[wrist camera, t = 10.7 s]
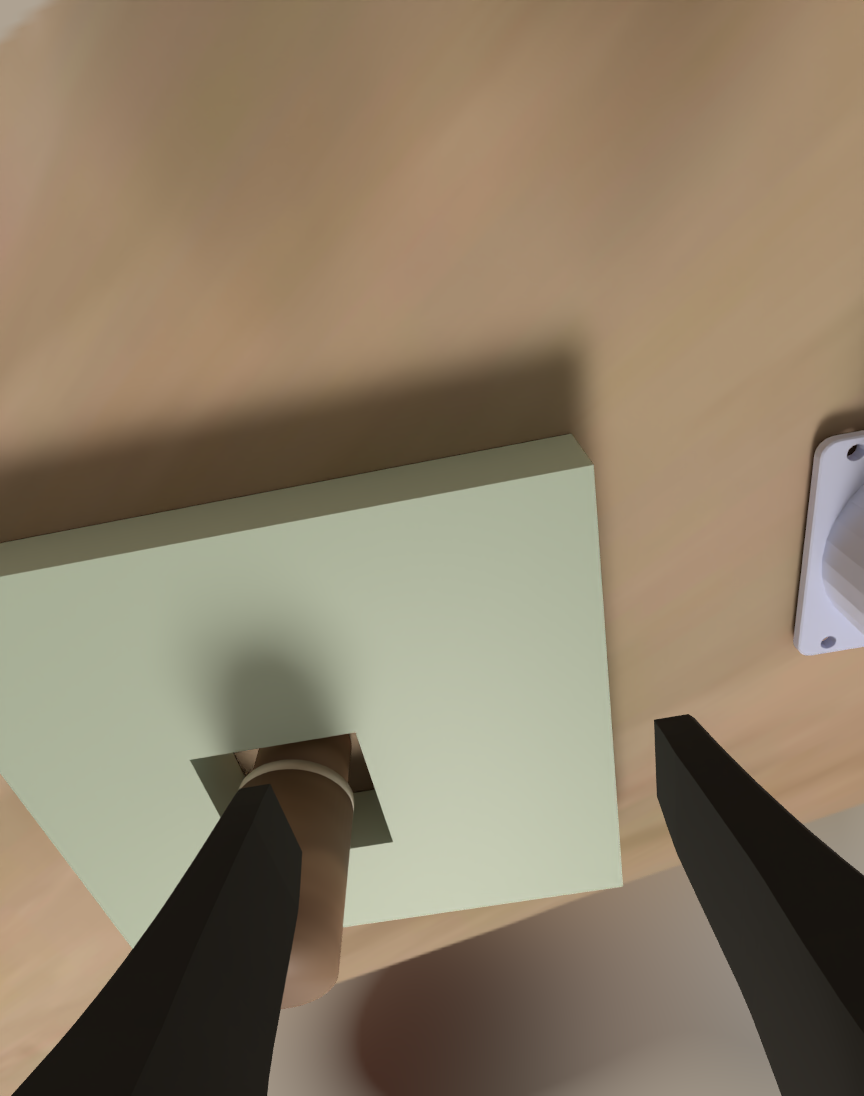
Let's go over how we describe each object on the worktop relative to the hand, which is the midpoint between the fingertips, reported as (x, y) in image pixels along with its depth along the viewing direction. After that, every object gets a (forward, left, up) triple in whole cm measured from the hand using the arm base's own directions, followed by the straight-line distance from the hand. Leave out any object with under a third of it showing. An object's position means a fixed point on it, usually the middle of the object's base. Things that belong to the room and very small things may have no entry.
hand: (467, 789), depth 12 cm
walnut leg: (+7, +7, -9) cm, 14 cm away
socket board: (+6, +6, -9) cm, 12 cm away
